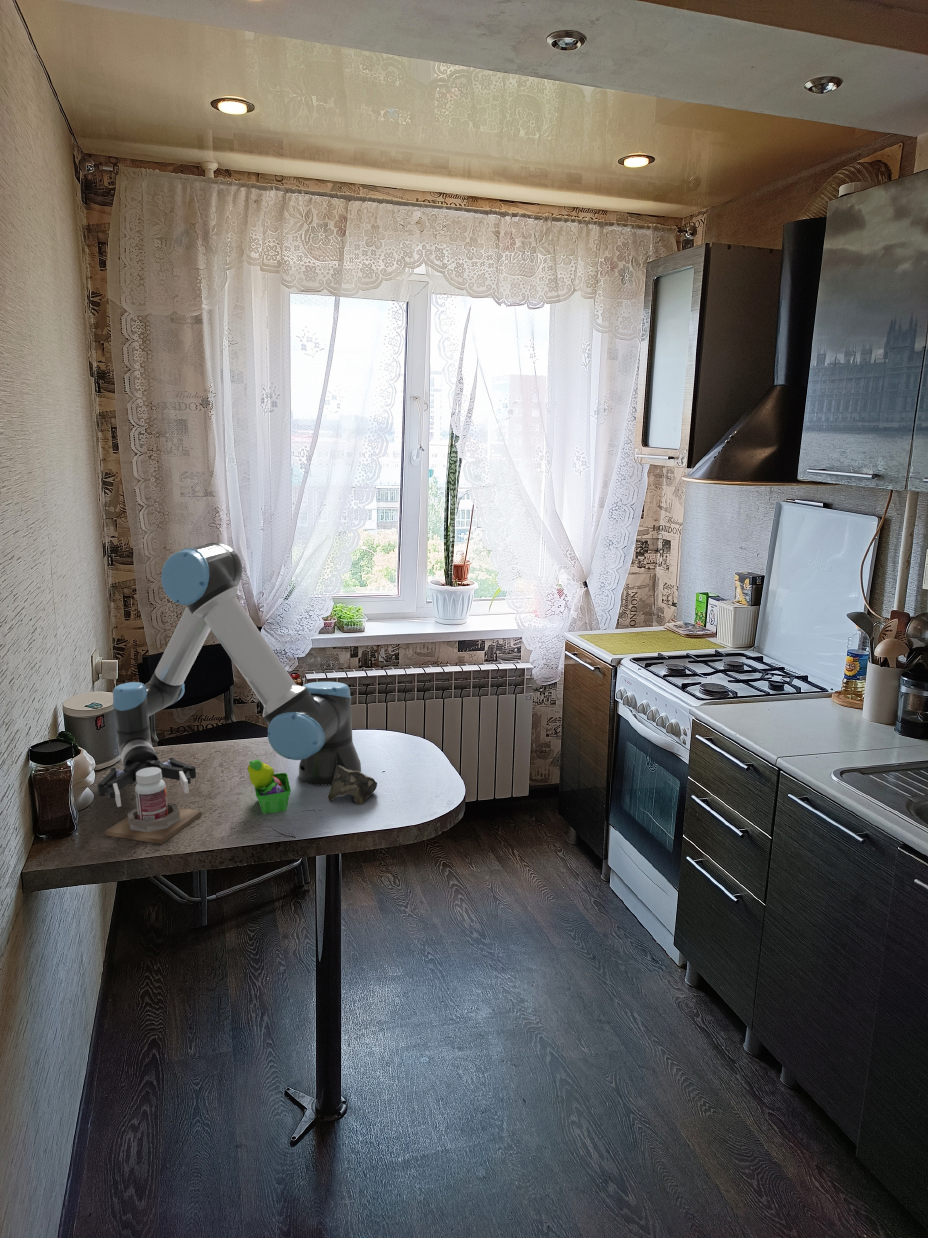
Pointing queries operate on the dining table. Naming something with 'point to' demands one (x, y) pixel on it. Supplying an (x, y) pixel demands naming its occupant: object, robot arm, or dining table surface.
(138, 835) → the carrier plate
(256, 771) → the fruit basket
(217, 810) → the dining table surface
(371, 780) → the fossil
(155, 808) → the pill bottle
